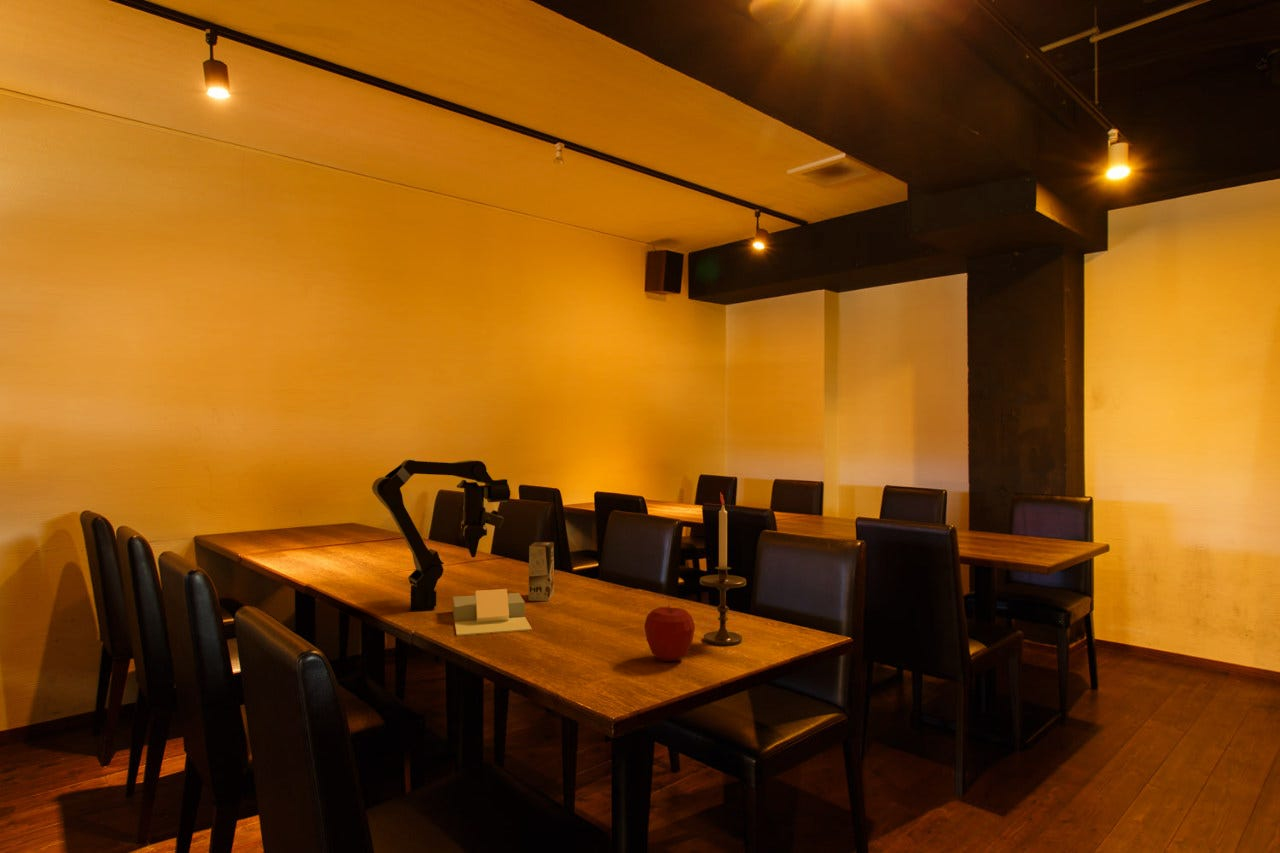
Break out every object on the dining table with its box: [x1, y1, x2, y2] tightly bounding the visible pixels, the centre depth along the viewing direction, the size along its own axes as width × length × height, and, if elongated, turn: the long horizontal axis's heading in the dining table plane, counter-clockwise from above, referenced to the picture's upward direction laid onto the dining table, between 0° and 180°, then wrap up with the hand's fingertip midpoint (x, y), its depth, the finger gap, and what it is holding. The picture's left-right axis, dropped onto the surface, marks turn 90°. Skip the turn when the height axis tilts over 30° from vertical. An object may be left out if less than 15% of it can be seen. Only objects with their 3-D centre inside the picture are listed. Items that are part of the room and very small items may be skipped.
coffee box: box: [528, 541, 555, 602], centre depth 207 cm, size 9×6×16 cm
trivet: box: [474, 588, 509, 623], centre depth 179 cm, size 8×8×2 cm
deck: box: [452, 592, 526, 623], centre depth 187 cm, size 18×12×4 cm, turn 107°
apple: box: [644, 605, 696, 662], centre depth 149 cm, size 11×11×12 cm
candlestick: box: [699, 492, 747, 647], centre depth 164 cm, size 11×11×35 cm
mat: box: [454, 616, 533, 637], centre depth 174 cm, size 18×12×1 cm, turn 107°
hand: (473, 557), depth 201 cm, fingers closed
